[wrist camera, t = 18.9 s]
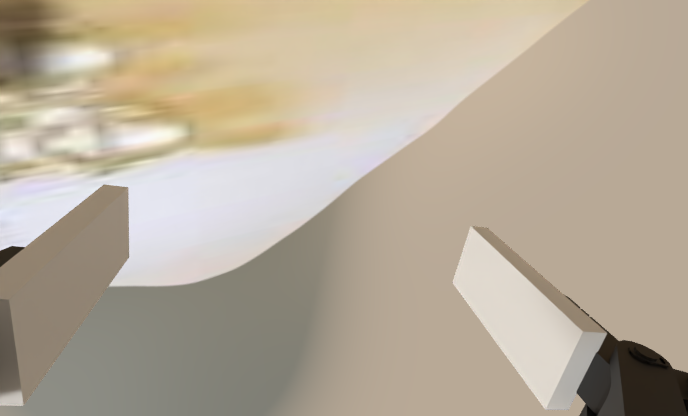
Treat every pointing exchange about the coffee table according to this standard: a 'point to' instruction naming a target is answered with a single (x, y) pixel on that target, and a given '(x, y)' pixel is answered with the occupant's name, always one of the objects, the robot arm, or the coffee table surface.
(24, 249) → the robot arm
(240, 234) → the coffee table surface
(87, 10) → the coffee table surface
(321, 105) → the coffee table surface
